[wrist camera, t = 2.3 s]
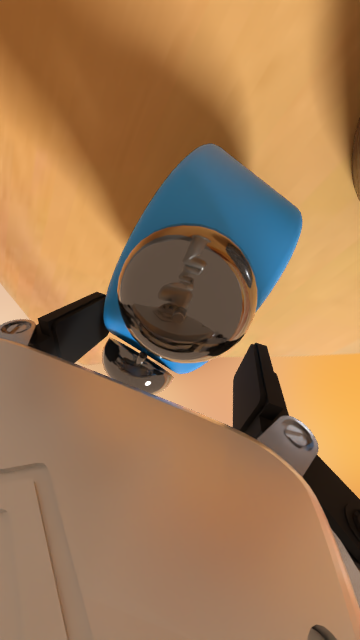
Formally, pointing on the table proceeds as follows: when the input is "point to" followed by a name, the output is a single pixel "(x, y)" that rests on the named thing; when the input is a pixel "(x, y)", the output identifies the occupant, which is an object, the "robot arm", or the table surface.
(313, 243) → the table surface
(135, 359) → the alarm clock
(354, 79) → the table surface
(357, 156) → the round tin
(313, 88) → the table surface
